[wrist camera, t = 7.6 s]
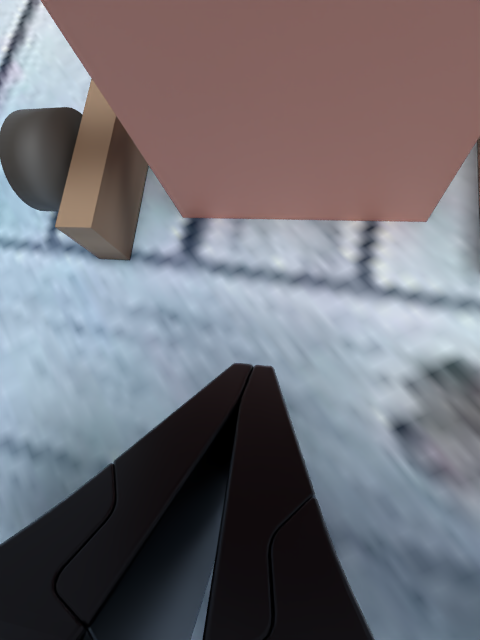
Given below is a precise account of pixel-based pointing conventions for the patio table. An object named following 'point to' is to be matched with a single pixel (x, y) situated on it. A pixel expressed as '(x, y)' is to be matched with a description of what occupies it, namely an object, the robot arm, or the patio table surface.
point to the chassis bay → (80, 172)
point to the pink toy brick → (289, 100)
